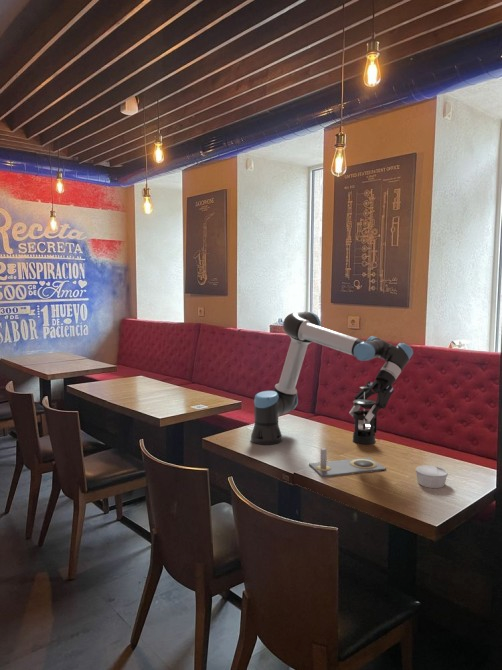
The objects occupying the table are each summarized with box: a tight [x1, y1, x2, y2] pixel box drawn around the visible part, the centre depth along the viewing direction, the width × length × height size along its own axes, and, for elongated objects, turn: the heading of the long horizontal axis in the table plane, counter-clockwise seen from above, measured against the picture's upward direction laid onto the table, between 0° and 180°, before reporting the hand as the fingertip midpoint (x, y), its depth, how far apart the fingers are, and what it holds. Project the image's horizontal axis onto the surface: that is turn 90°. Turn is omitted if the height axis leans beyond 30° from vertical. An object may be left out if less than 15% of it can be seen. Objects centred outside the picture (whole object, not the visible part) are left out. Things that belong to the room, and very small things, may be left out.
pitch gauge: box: [308, 447, 387, 478], centre depth 202 cm, size 14×28×9 cm, turn 105°
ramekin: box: [415, 465, 448, 489], centre depth 185 cm, size 11×11×5 cm
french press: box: [352, 386, 378, 446], centre depth 202 cm, size 12×9×23 cm
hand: (359, 417), depth 201 cm, fingers closed on french press, 9 cm apart
